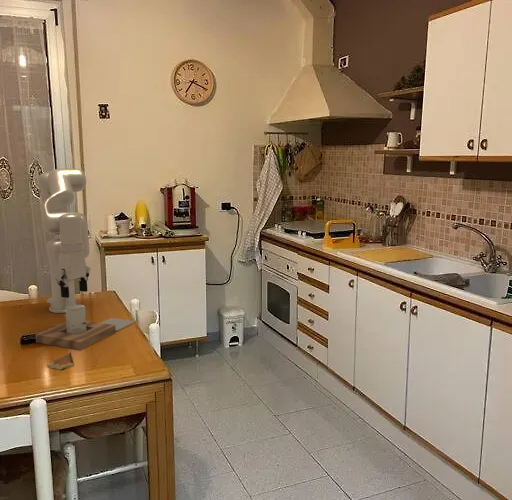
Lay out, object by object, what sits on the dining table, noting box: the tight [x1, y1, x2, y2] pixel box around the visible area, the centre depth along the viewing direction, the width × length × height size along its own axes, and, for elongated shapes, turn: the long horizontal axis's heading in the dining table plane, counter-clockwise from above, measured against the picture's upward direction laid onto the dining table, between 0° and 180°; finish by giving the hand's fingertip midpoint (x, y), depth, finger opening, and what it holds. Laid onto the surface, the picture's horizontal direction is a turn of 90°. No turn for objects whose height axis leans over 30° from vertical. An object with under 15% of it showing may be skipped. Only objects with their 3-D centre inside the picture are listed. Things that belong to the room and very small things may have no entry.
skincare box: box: [65, 303, 87, 335], centre depth 194 cm, size 6×4×12 cm
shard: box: [46, 352, 75, 371], centre depth 171 cm, size 11×8×2 cm
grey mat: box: [100, 317, 136, 333], centre depth 209 cm, size 12×12×1 cm
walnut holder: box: [35, 320, 117, 351], centre depth 194 cm, size 20×20×3 cm
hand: (74, 294), depth 191 cm, fingers open, 9 cm apart
